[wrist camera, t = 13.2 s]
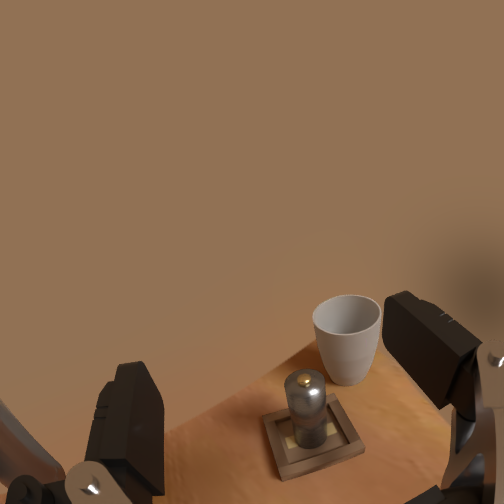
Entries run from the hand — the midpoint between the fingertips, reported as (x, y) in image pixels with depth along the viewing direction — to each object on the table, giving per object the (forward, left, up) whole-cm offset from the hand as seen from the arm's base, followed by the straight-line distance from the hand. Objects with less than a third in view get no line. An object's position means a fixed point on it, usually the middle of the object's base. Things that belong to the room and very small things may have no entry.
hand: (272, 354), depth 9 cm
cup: (+11, +19, -24) cm, 33 cm away
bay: (+3, +11, -24) cm, 26 cm away
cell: (+3, +11, -23) cm, 26 cm away
